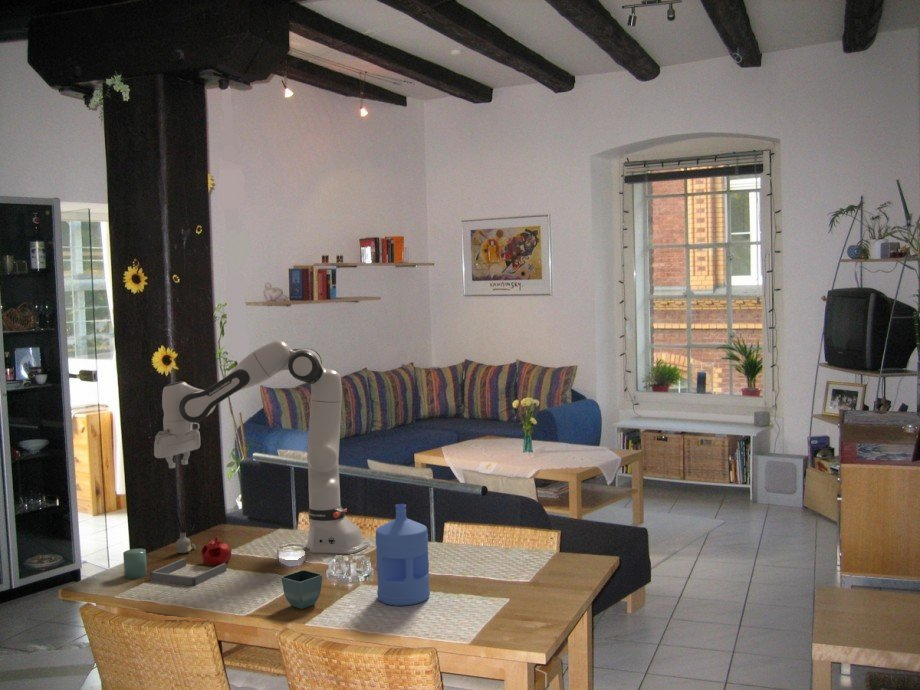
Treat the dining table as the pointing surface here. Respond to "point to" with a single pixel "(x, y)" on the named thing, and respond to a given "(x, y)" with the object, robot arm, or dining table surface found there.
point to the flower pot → (302, 588)
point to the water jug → (402, 561)
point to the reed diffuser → (183, 536)
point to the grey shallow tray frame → (163, 576)
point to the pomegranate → (216, 553)
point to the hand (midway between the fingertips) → (178, 466)
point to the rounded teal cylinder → (135, 563)
